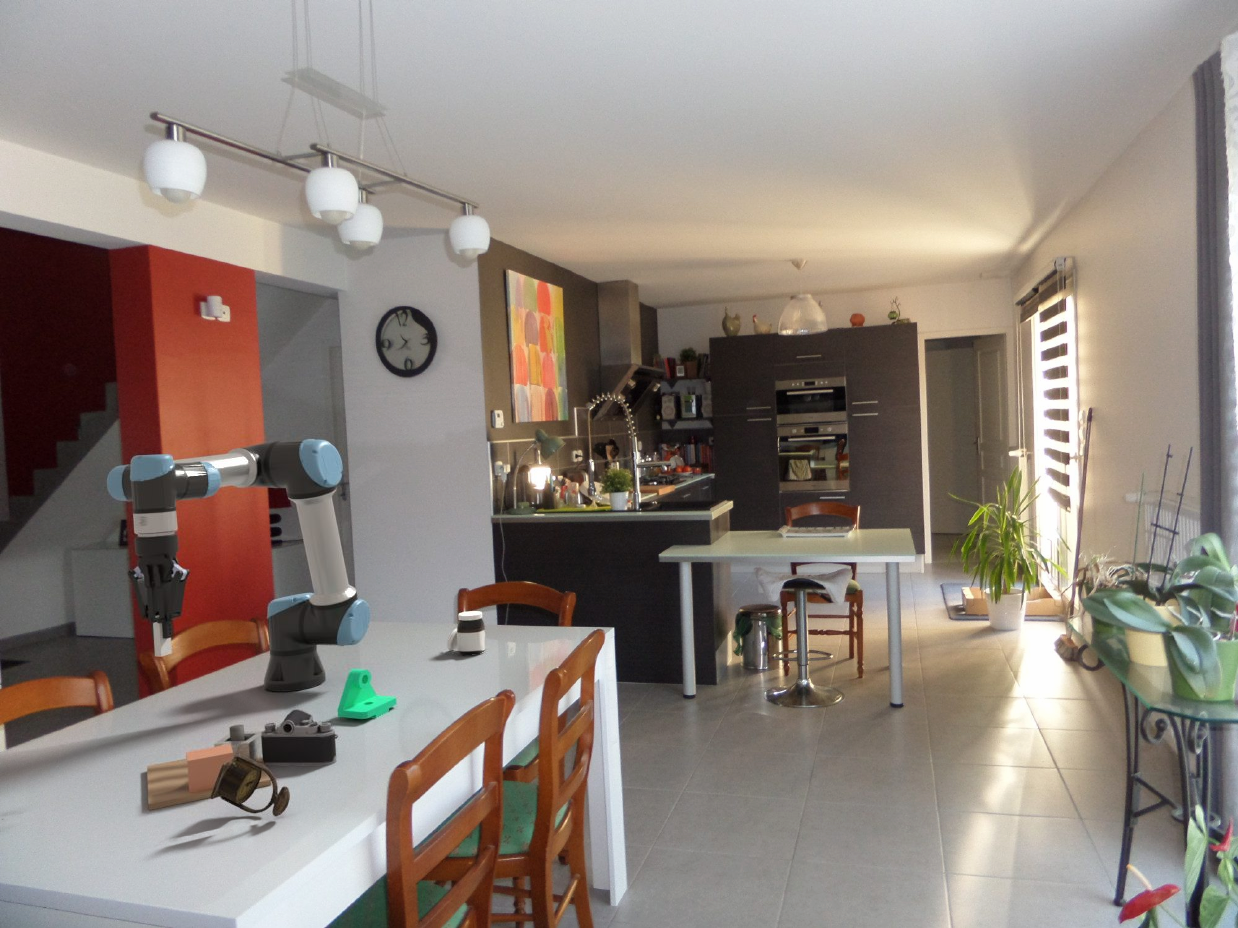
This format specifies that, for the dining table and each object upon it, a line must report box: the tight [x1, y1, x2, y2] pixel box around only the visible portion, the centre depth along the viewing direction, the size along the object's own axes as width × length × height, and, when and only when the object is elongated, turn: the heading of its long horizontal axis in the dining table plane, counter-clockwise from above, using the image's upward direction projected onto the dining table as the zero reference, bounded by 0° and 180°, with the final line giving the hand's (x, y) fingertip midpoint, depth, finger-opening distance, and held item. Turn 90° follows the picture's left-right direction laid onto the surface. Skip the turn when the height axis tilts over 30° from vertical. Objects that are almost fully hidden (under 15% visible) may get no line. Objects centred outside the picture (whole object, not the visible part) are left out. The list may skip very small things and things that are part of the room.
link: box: [213, 730, 262, 761], centre depth 175 cm, size 17×7×4 cm, turn 175°
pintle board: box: [146, 724, 272, 811], centre depth 172 cm, size 22×20×7 cm
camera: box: [261, 708, 339, 767], centre depth 181 cm, size 16×8×10 cm, turn 82°
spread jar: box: [446, 610, 487, 656], centre depth 264 cm, size 12×11×12 cm
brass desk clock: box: [209, 755, 291, 817], centre depth 155 cm, size 7×13×10 cm, turn 95°
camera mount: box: [336, 668, 397, 720], centre depth 208 cm, size 12×8×10 cm, turn 157°
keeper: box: [185, 744, 234, 793], centre depth 166 cm, size 6×8×6 cm
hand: (163, 654), depth 177 cm, fingers closed
